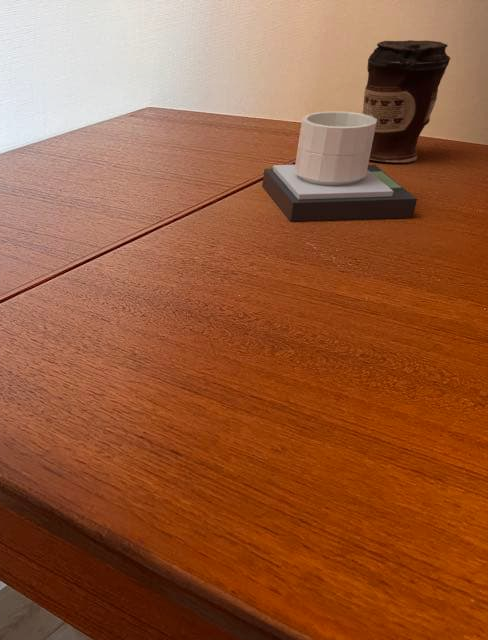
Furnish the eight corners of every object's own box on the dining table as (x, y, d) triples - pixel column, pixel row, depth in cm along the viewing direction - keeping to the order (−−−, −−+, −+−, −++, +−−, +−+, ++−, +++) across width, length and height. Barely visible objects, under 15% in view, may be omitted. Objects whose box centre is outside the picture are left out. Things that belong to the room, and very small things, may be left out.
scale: (371, 182, 97) (376, 159, 95) (412, 217, 86) (418, 192, 85) (261, 186, 98) (265, 163, 96) (290, 221, 88) (294, 196, 86)
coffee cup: (399, 171, 99) (425, 52, 92) (334, 158, 105) (354, 45, 98) (439, 156, 103) (467, 40, 97) (374, 144, 109) (396, 34, 103)
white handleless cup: (352, 166, 94) (363, 109, 90) (375, 186, 88) (387, 126, 84) (286, 168, 94) (294, 112, 91) (304, 188, 88) (314, 128, 85)
